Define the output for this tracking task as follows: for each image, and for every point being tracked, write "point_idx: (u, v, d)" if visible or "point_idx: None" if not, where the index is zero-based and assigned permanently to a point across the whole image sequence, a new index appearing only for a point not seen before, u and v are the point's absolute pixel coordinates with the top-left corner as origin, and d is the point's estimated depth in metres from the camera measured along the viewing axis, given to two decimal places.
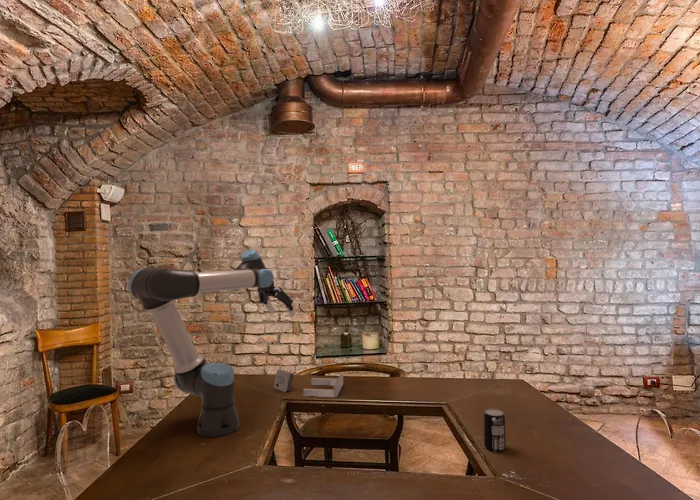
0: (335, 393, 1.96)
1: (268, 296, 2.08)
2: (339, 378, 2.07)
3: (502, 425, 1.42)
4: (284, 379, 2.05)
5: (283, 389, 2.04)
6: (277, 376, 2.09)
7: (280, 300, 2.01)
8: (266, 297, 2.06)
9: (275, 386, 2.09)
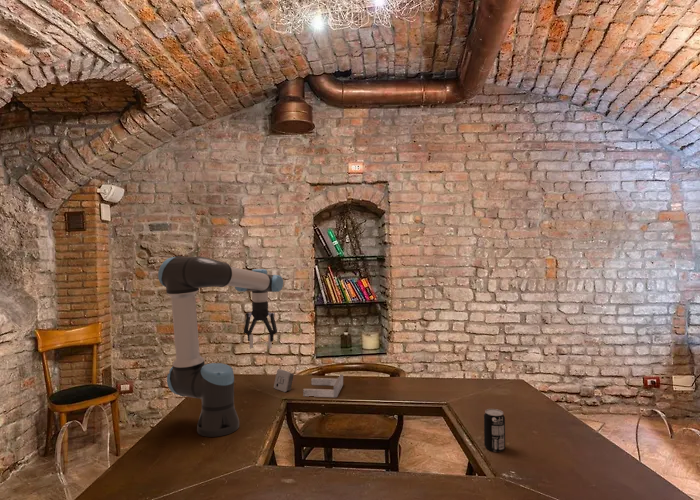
0: (335, 393, 1.96)
1: (254, 325, 2.11)
2: (339, 378, 2.07)
3: (502, 425, 1.42)
4: (284, 379, 2.05)
5: (283, 389, 2.04)
6: (277, 376, 2.09)
7: (267, 326, 2.08)
8: (254, 323, 2.09)
9: (275, 386, 2.09)
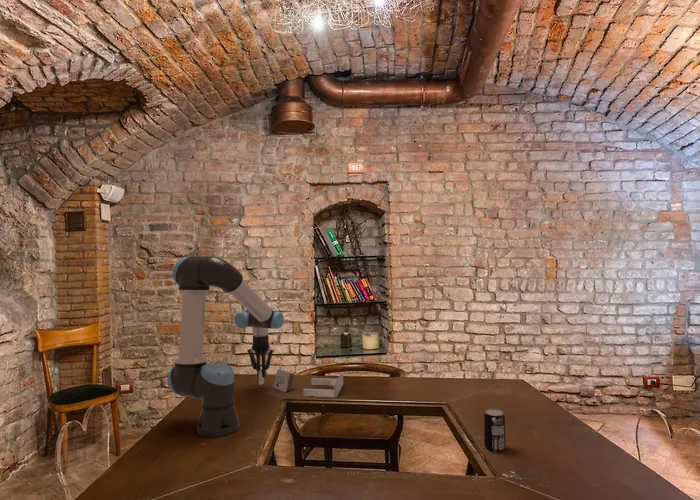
0: (335, 393, 1.96)
1: (260, 359, 2.11)
2: (339, 378, 2.07)
3: (502, 425, 1.42)
4: (284, 379, 2.05)
5: (283, 389, 2.04)
6: (277, 376, 2.09)
7: (262, 361, 2.09)
8: (258, 357, 2.09)
9: (275, 386, 2.09)
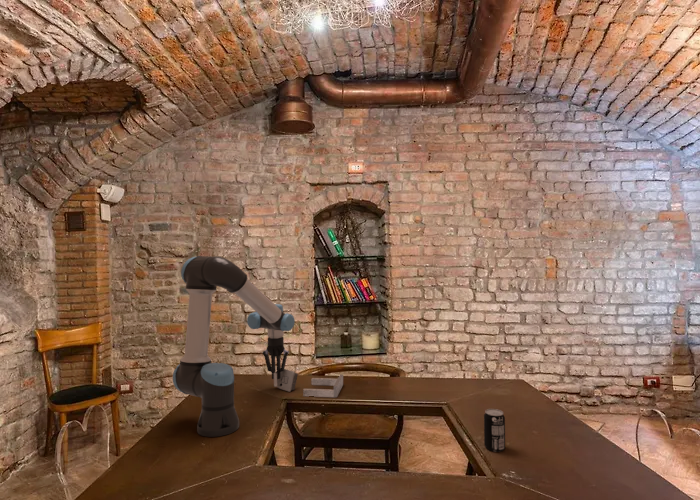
0: (335, 393, 1.96)
1: None
2: (339, 378, 2.07)
3: (502, 425, 1.42)
4: (288, 379, 2.06)
5: (287, 389, 2.04)
6: (281, 375, 2.09)
7: (277, 363, 2.08)
8: (273, 359, 2.08)
9: (279, 386, 2.08)
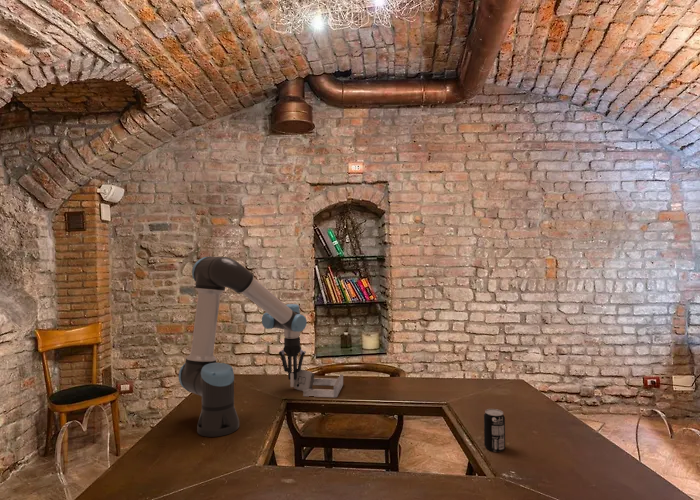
0: (335, 393, 1.96)
1: (291, 362, 2.09)
2: (339, 378, 2.07)
3: (502, 425, 1.42)
4: (306, 379, 2.05)
5: None
6: (298, 376, 2.08)
7: (294, 364, 2.06)
8: (290, 360, 2.07)
9: (295, 386, 2.07)
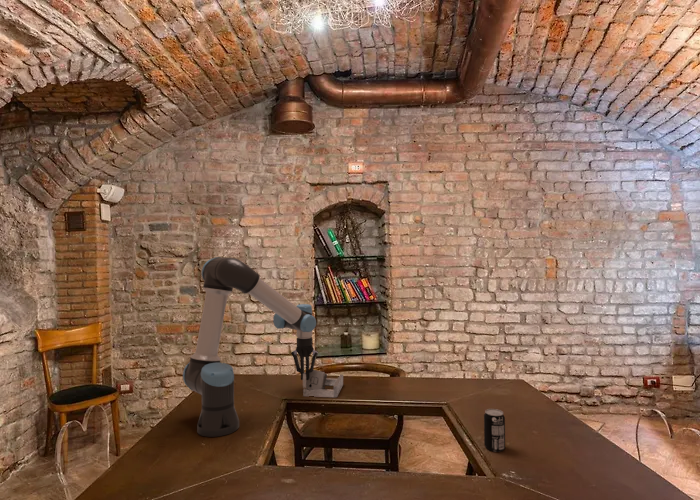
0: (335, 393, 1.96)
1: (303, 362, 2.08)
2: (339, 378, 2.07)
3: (502, 425, 1.42)
4: (318, 379, 2.04)
5: None
6: (310, 376, 2.08)
7: (306, 364, 2.06)
8: (302, 360, 2.06)
9: (308, 387, 2.06)
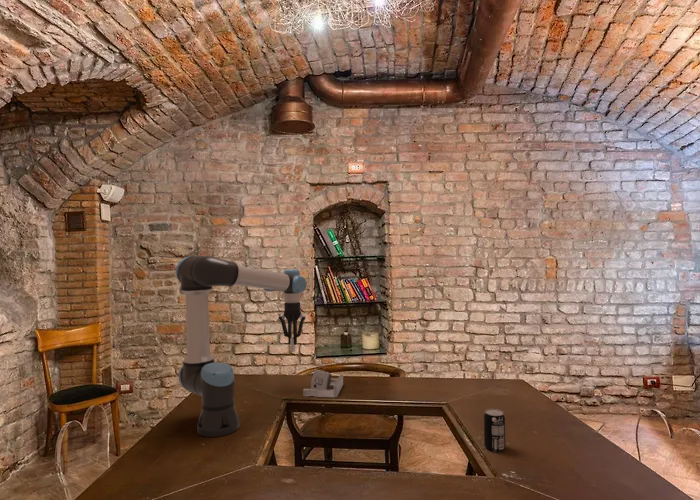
0: (335, 393, 1.96)
1: (291, 327, 2.08)
2: (339, 378, 2.07)
3: (502, 425, 1.42)
4: (323, 380, 2.03)
5: None
6: (315, 377, 2.07)
7: (294, 328, 2.06)
8: (290, 324, 2.07)
9: (313, 387, 2.06)
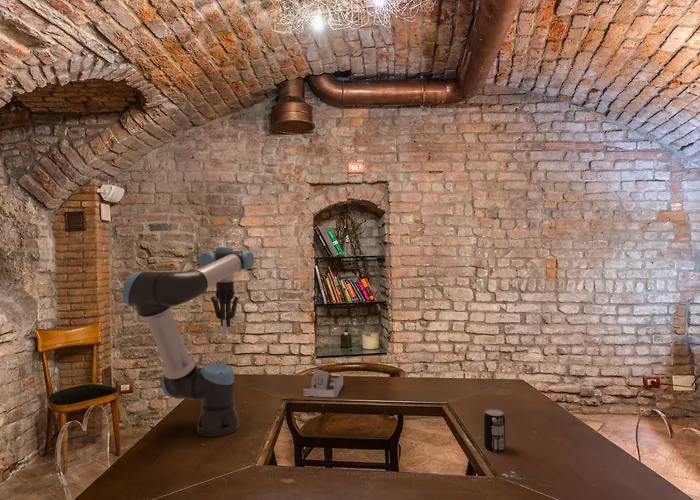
0: (335, 393, 1.96)
1: (224, 308, 1.95)
2: (339, 378, 2.07)
3: (502, 425, 1.42)
4: (323, 380, 2.03)
5: None
6: (315, 377, 2.07)
7: (226, 309, 1.93)
8: (222, 305, 1.93)
9: (313, 387, 2.06)
